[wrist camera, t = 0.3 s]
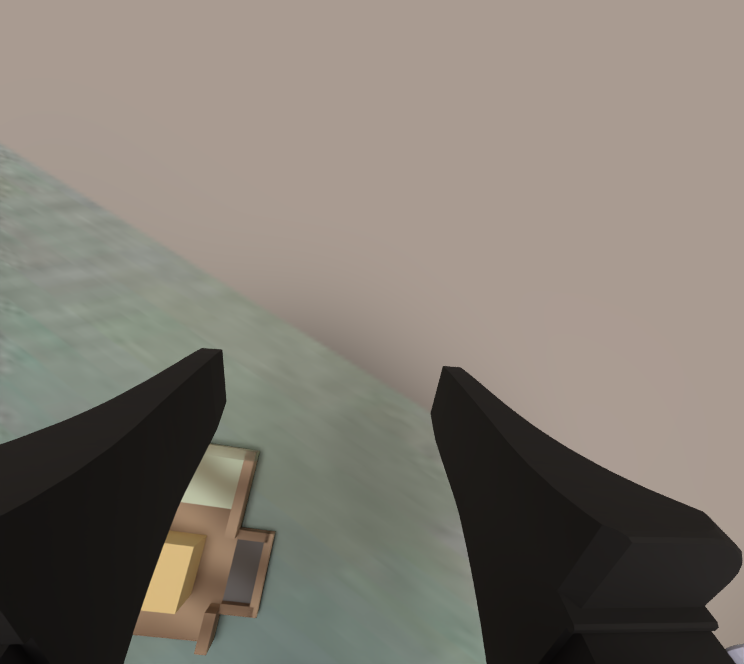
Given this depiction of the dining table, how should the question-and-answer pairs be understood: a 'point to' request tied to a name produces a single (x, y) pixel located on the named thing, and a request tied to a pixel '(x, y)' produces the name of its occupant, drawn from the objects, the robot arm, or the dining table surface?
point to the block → (174, 572)
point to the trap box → (217, 550)
